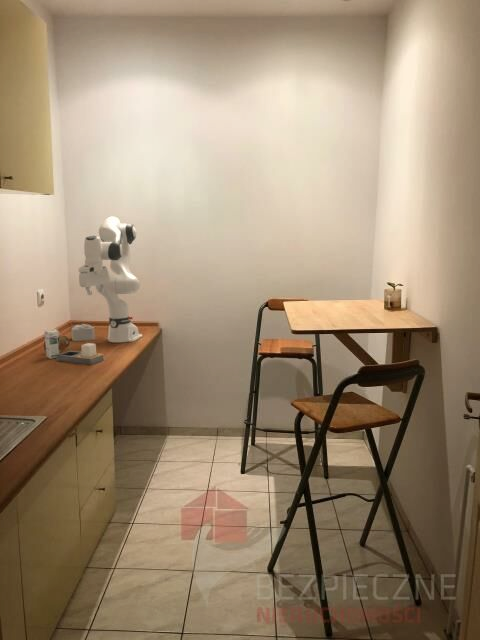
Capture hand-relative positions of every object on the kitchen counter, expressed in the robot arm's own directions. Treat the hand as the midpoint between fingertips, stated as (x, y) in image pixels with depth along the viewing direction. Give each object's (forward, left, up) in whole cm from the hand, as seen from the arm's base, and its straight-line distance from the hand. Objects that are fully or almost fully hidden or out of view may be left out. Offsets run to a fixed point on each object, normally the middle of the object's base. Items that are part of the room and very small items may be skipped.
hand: (95, 293), depth 282 cm
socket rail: (+14, -1, -33) cm, 36 cm away
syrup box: (+14, -19, -33) cm, 41 cm away
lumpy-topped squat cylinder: (-26, -33, -33) cm, 54 cm away
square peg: (+14, +5, -33) cm, 36 cm away
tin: (+4, -26, -33) cm, 42 cm away
